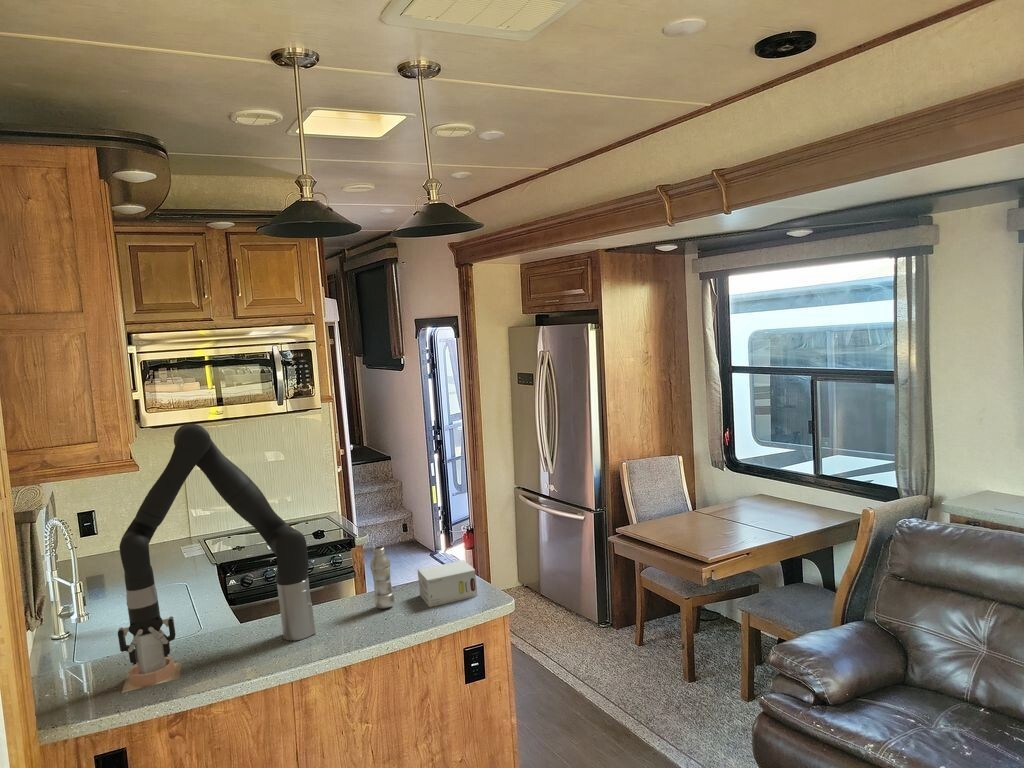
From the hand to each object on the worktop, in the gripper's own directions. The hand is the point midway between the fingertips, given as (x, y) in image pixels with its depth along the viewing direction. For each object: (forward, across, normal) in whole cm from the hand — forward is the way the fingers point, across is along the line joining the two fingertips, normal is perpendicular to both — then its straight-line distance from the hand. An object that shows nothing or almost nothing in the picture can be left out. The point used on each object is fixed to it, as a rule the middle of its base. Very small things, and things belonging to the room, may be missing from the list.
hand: (150, 659), depth 197 cm
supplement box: (+6, -89, -9) cm, 90 cm away
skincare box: (+4, 0, 0) cm, 4 cm away
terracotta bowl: (+5, 0, 0) cm, 5 cm away
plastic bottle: (+6, -68, -12) cm, 69 cm away
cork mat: (+5, 0, 0) cm, 5 cm away
